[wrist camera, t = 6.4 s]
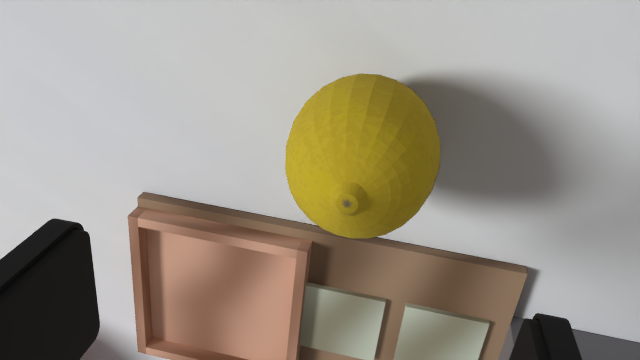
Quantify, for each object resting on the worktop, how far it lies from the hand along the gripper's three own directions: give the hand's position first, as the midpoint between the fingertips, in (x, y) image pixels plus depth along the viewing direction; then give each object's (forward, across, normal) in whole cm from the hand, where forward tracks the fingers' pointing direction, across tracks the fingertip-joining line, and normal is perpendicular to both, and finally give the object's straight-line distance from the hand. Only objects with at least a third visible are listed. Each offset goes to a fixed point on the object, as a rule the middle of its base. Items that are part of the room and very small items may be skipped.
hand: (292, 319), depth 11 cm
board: (+13, +1, +11) cm, 17 cm away
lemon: (+14, 0, 0) cm, 14 cm away
